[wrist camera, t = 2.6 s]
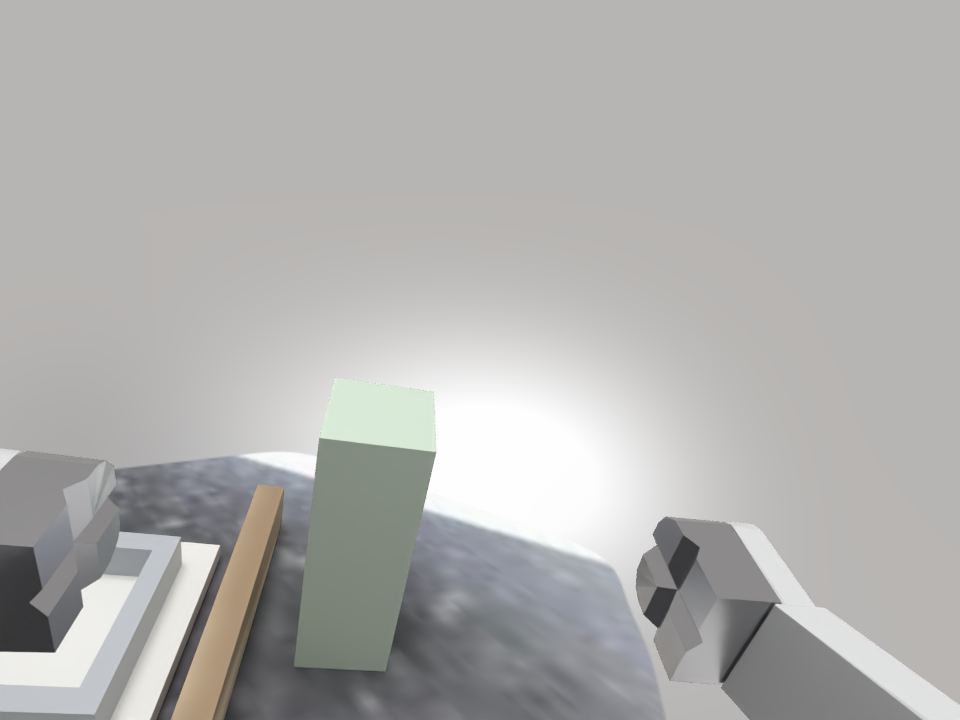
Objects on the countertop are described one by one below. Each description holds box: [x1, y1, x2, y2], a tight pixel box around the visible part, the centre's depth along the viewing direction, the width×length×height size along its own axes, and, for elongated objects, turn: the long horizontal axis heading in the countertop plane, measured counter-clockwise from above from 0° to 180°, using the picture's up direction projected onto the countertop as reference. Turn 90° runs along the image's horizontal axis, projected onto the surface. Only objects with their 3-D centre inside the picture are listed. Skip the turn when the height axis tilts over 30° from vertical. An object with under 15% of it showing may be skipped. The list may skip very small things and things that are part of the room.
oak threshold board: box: [171, 485, 284, 720], centre depth 28 cm, size 2×15×3 cm, turn 6°
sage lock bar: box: [294, 378, 436, 672], centre depth 27 cm, size 4×4×14 cm
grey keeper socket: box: [0, 532, 220, 720], centre depth 26 cm, size 12×12×3 cm
